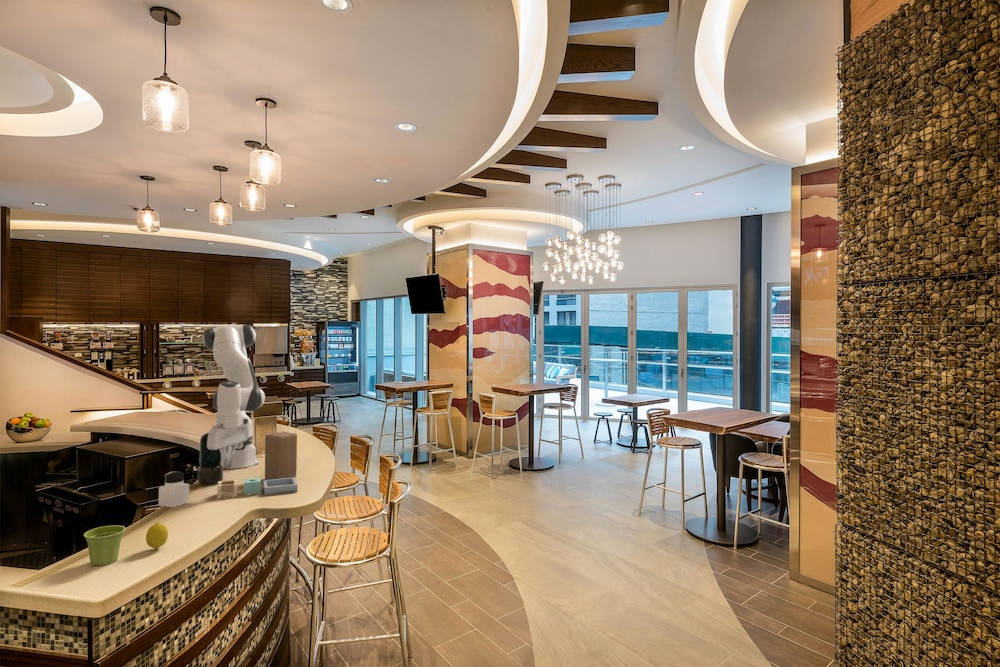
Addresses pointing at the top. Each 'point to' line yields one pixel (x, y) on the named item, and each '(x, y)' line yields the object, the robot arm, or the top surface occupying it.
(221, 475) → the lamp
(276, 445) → the block
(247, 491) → the narrow bore block
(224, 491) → the wide bore block
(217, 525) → the top surface
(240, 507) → the top surface
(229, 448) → the cylinder
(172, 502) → the medicine bottle
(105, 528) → the plant pot
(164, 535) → the lemon
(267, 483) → the tray
